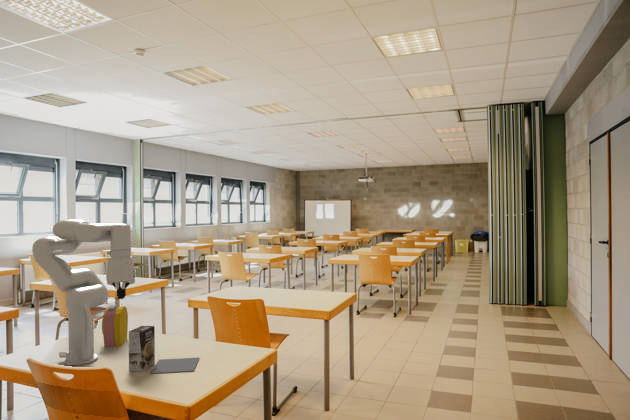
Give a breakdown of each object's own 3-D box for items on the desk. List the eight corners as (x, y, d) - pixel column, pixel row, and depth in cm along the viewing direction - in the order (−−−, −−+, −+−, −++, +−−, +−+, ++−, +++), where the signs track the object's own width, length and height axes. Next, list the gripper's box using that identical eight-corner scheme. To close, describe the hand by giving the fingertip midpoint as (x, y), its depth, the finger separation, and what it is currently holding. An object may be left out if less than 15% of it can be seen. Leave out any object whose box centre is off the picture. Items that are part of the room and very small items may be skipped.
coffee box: (142, 372, 168) (142, 331, 168) (128, 371, 169) (127, 331, 169) (155, 363, 177) (155, 325, 177) (142, 362, 178) (141, 325, 178)
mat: (149, 374, 166) (149, 373, 166) (158, 360, 180) (158, 359, 180) (193, 371, 168) (193, 370, 168) (199, 358, 183) (199, 357, 183)
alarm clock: (110, 338, 212) (110, 302, 212) (128, 337, 214) (127, 301, 214) (101, 348, 198) (100, 309, 198) (119, 346, 199) (119, 308, 199)
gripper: (98, 255, 167) (98, 301, 167) (137, 254, 169) (137, 299, 169) (105, 253, 174) (105, 297, 174) (142, 252, 176) (142, 295, 176)
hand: (121, 298), depth 172 cm, fingers closed
